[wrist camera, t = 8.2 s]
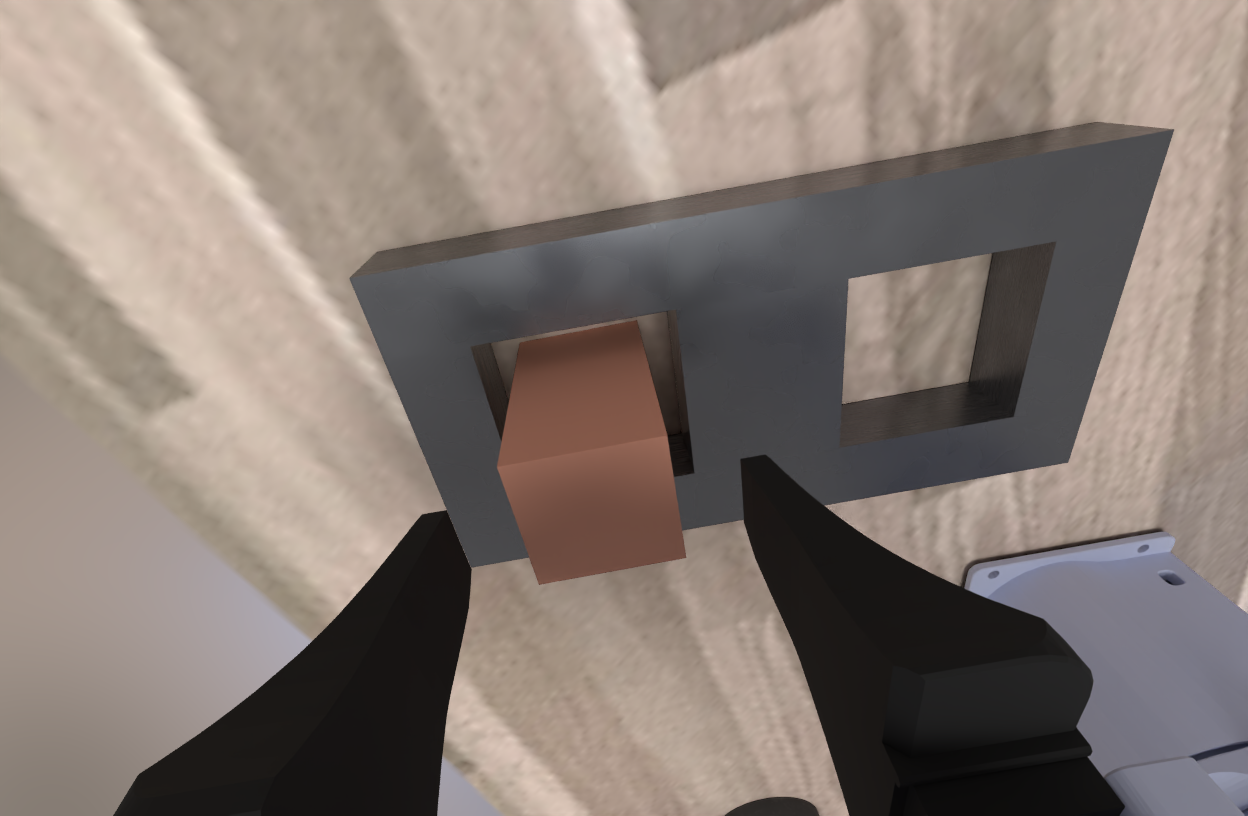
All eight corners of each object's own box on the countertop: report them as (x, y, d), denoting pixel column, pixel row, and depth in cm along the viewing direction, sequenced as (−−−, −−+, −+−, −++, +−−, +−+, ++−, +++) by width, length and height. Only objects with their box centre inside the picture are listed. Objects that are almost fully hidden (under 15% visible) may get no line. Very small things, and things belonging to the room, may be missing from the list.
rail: (1097, 122, 17) (1174, 129, 15) (1021, 425, 23) (1068, 462, 20) (376, 252, 17) (349, 278, 15) (480, 520, 23) (471, 567, 21)
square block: (636, 320, 19) (667, 435, 13) (653, 419, 21) (686, 557, 15) (519, 342, 19) (496, 467, 13) (547, 439, 21) (538, 584, 15)
